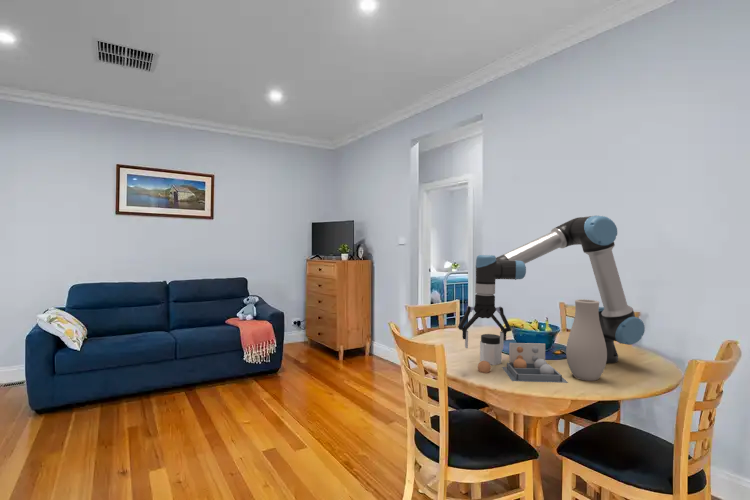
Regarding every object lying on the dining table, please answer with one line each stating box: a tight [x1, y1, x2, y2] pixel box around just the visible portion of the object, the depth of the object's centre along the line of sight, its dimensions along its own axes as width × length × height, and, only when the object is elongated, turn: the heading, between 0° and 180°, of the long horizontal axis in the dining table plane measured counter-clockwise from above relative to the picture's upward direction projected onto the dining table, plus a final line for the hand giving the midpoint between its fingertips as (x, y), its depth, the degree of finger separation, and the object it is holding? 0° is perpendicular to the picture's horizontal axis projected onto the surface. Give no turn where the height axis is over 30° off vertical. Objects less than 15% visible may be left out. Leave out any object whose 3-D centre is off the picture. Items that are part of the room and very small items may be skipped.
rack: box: [501, 342, 569, 384], centre depth 160 cm, size 20×17×11 cm
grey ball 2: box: [540, 363, 555, 375], centre depth 156 cm, size 5×5×5 cm
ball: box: [477, 361, 492, 374], centre depth 164 cm, size 5×5×5 cm
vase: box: [565, 298, 607, 382], centre depth 157 cm, size 14×14×30 cm
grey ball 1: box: [534, 359, 548, 369], centre depth 163 cm, size 5×5×5 cm
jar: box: [479, 333, 503, 366], centre depth 176 cm, size 9×8×12 cm
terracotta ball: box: [513, 358, 527, 368], centre depth 164 cm, size 5×5×5 cm
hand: (483, 348), depth 164 cm, fingers open, 13 cm apart
